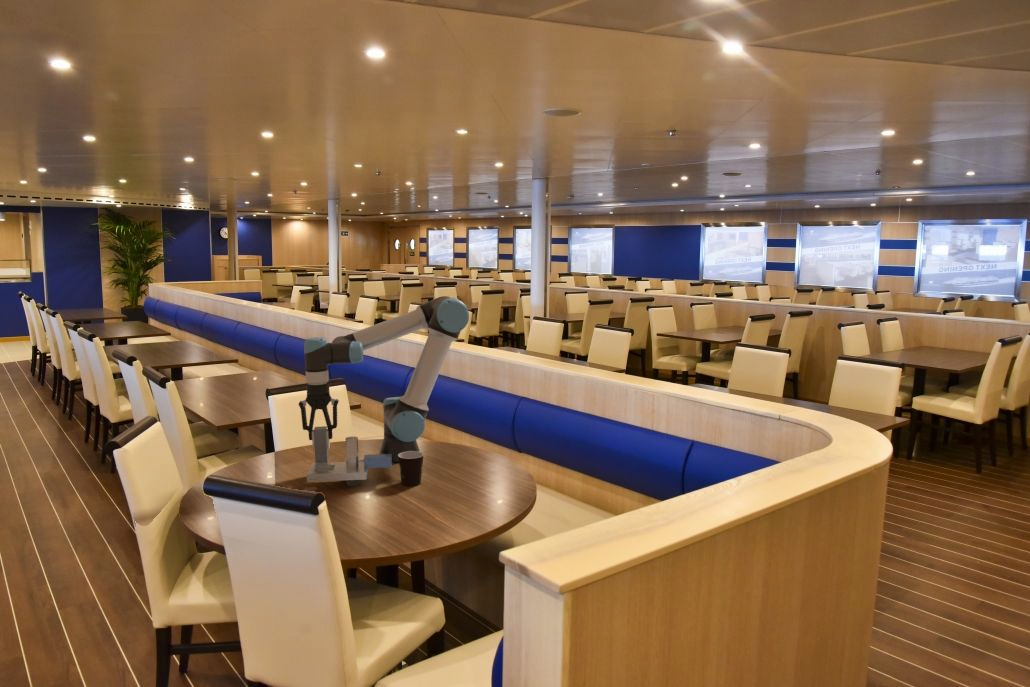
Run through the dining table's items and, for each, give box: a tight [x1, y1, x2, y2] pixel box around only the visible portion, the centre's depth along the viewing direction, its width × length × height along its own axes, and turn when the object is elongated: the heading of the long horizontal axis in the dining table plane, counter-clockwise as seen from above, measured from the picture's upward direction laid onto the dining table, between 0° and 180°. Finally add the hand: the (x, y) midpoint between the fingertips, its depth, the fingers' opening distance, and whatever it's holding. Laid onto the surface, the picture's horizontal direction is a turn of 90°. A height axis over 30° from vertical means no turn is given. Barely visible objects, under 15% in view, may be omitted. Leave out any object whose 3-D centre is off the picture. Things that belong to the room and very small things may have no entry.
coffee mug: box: [398, 451, 425, 488], centre depth 238 cm, size 12×9×10 cm
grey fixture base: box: [306, 436, 393, 487], centre depth 235 cm, size 27×12×16 cm, turn 98°
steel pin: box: [313, 425, 330, 463], centre depth 244 cm, size 4×4×12 cm
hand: (321, 448), depth 244 cm, fingers closed on steel pin, 4 cm apart
